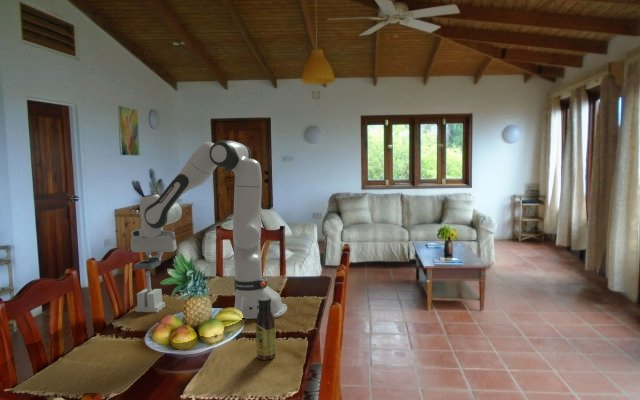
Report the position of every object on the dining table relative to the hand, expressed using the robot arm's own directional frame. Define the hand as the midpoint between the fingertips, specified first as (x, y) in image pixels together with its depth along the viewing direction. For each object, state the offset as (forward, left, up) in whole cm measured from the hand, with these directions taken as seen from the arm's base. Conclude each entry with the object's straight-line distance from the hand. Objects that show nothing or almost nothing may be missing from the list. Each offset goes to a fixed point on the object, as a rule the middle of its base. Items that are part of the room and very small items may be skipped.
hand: (155, 261), depth 201 cm
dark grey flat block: (0, +4, -1) cm, 4 cm away
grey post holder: (0, +7, -20) cm, 21 cm away
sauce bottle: (-63, +48, -20) cm, 81 cm away
